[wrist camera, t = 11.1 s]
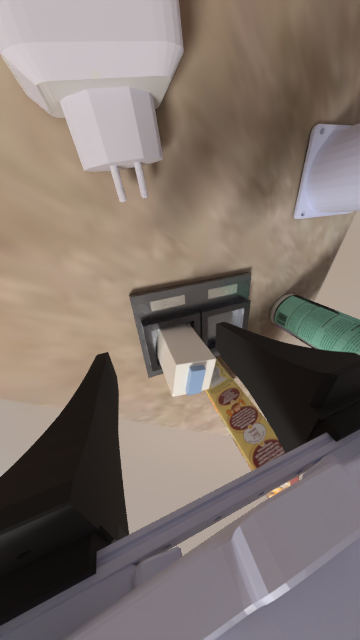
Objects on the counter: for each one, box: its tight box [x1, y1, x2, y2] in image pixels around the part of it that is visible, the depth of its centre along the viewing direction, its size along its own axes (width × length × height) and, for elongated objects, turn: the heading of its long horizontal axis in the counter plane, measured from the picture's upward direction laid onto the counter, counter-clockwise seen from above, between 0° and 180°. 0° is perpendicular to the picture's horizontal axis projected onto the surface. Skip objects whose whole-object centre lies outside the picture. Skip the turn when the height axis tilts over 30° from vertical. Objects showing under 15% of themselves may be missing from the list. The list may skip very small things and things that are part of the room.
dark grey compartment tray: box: [129, 272, 251, 378], centre depth 23 cm, size 15×12×2 cm
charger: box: [0, 0, 184, 202], centre depth 10 cm, size 5×9×15 cm
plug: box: [156, 324, 216, 397], centre depth 20 cm, size 4×4×8 cm
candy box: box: [205, 357, 299, 498], centre depth 24 cm, size 9×4×15 cm, turn 23°
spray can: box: [270, 293, 360, 355], centre depth 20 cm, size 6×6×20 cm
